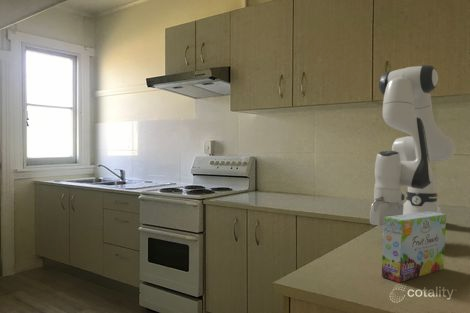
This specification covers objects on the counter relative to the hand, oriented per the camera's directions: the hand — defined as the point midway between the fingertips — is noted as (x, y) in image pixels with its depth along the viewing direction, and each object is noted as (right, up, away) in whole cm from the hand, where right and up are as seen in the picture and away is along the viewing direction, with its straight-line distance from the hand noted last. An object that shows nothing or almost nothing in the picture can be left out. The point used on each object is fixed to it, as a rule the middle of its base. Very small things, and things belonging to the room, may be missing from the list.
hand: (386, 234), depth 136 cm
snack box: (-8, -2, -39) cm, 39 cm away
